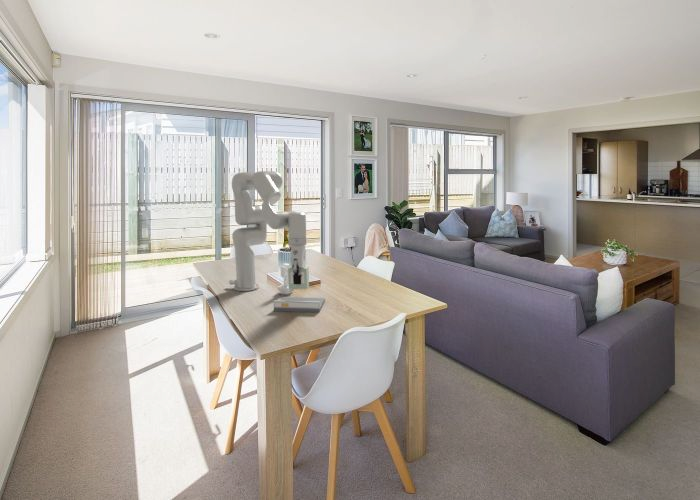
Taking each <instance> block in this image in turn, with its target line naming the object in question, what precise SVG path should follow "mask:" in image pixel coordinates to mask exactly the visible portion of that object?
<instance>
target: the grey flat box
mask: <svg viewBox="0 0 700 500" xmlns="http://www.w3.org/2000/svg"><path fill="white" fill-rule="evenodd" d="M325 302H326V298H325V297H296V296H295V297H292V296H282V297H281V298H280V300H276V299H275V300H273V311H274V312H292V313H293V312H296V313H297V312H299V313H300V312H301V313H321V310H322V308H323V306H324V304H325Z"/></svg>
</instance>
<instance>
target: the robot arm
mask: <svg viewBox="0 0 700 500" xmlns="http://www.w3.org/2000/svg"><path fill="white" fill-rule="evenodd" d="M282 185H283V177H282V175H281V174H280V173H279V172H278V171H273V170H269V171H268V170H267V171H263V170H262V171H257V172H254V171H253V172H251V171H250V172H249V171H248V172H247V171H246V172H242V171H241V172H237V173H235V174H233V177H232V180H231V189H232V193H233V196H234V198H233V199H234V218H235V222H236V224H237V225H239V226H247V227H240V228H237V229H235V230H234V231H232V236H231V237H232V242H233V246H234V254H235V255H234V256H235V257H234V258H235V272H236V273H235V274H236V276H235V277H236V279H235V280H233V279H230V280H229V281H228V284H229V285H234V286H233V290H235V291H238V292H250V291H255V290H258V289H259V287H260V285H259V284H258V283H256V282H257V281H256V261H255V260H256V257H255V253H254V251H253V250H252V248H251V247H253V246H259V245H263V244H264V243H266V241H267V238H268V236H267V233H268V229H267V228H268V227H267V225H268V226H269V228H271V230H282V229H287V230H288V232H287V233H288V246H290V266H291V267H292V268H293V282H294V284H301V275H300V268H301V269H302V268H303V267H304V266H306V265H307V254H306V245H307V217H306V216H307V215H306V214H305V213H304V212H297V211H294V210H287V211H286V210H284V211H274V209H273V207H272V206H273V205H275V204H277V203H278V201H280V199H281V197H282V196H281V195H282V194H281V192H280V190H279V189H280V188H282ZM250 191H256V192H257V193H258V195H259V197H260V198H261V200H262V203H261V206H260V205H253V197H252V194H251V193H250ZM251 225H254V226H251ZM248 226H249V227H248ZM297 267H299V268H297ZM298 270H299V271H298Z"/></svg>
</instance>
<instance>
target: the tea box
mask: <svg viewBox="0 0 700 500" xmlns="http://www.w3.org/2000/svg"><path fill="white" fill-rule="evenodd" d="M309 267H310V266H308V265H307V266H306V265H305V266H304V267H303V268H302V269H301V268H300V275H301V284H294V282H293V268H292V267H291V265H289V268H288V282H289V289H294V290H307V289H309V288H310V274H309V273H310V271H309V270H310V268H309ZM297 268H299V267H297ZM298 271H299V270H298Z"/></svg>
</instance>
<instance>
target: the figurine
mask: <svg viewBox="0 0 700 500" xmlns="http://www.w3.org/2000/svg"><path fill="white" fill-rule="evenodd" d="M289 267H290V263H282V266H281V267H280V277H281V278H283V283H281V284H280V285H278V286H277V290H278V291H279V293H280V295H288V296H290V295H291V294H292V293H293V292H294V290H295V289H289V282H288V268H289Z"/></svg>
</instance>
